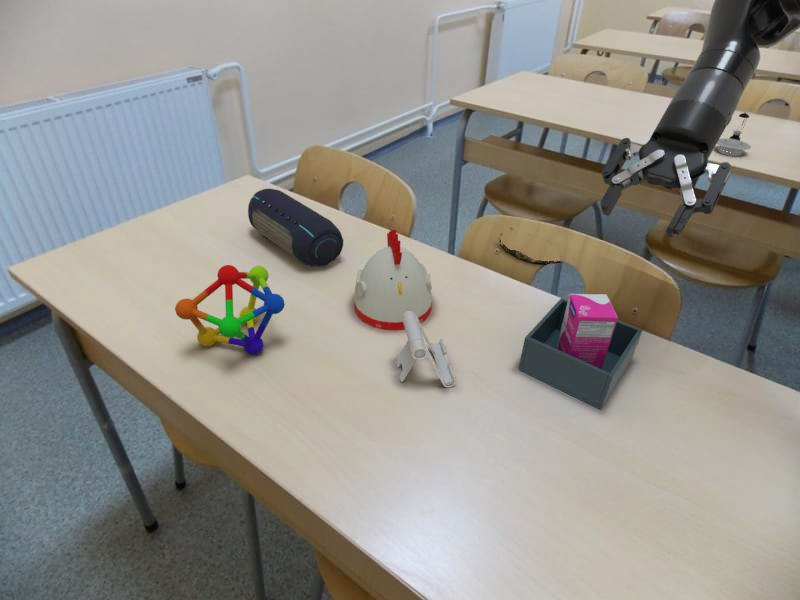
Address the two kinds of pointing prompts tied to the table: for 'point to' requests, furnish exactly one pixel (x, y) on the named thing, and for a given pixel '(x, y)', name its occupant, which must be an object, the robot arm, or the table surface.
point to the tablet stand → (423, 351)
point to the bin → (571, 371)
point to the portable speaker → (295, 227)
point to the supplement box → (587, 328)
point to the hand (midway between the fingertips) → (636, 223)
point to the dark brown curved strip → (524, 256)
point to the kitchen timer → (392, 287)
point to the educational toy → (229, 323)
